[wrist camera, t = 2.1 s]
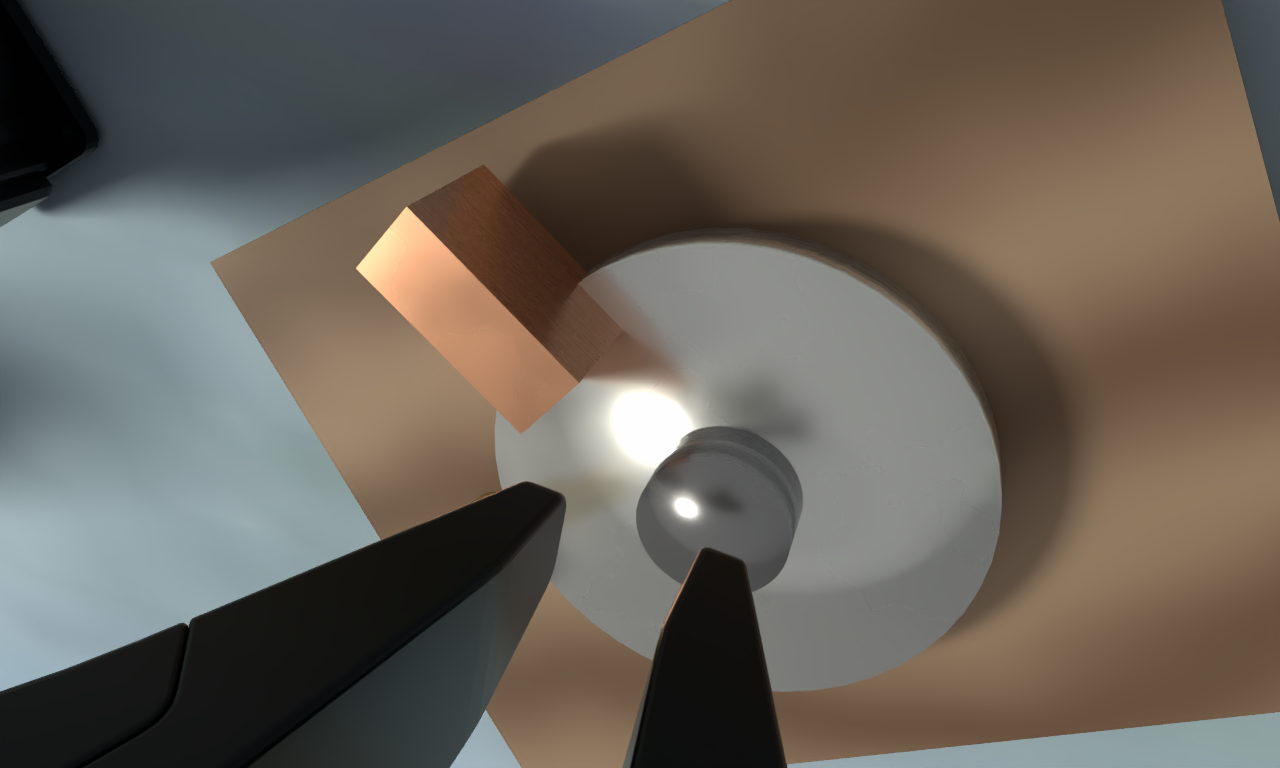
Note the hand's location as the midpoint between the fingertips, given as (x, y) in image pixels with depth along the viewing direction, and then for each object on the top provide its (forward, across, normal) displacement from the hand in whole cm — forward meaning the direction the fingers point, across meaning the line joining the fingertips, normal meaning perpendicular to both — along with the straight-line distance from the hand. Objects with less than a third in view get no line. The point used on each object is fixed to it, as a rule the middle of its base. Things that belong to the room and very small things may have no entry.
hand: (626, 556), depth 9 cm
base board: (+13, 0, +6) cm, 14 cm away
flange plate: (+12, +1, +5) cm, 13 cm away
